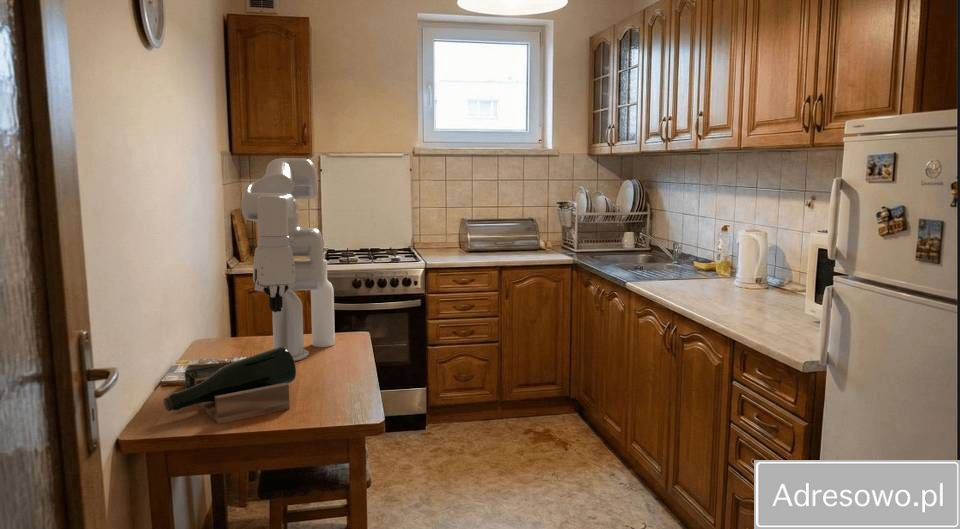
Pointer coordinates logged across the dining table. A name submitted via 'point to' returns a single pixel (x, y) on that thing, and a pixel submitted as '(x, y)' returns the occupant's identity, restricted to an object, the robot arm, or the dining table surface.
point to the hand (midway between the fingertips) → (276, 310)
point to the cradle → (247, 403)
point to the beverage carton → (201, 372)
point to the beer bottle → (238, 378)
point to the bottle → (323, 314)
